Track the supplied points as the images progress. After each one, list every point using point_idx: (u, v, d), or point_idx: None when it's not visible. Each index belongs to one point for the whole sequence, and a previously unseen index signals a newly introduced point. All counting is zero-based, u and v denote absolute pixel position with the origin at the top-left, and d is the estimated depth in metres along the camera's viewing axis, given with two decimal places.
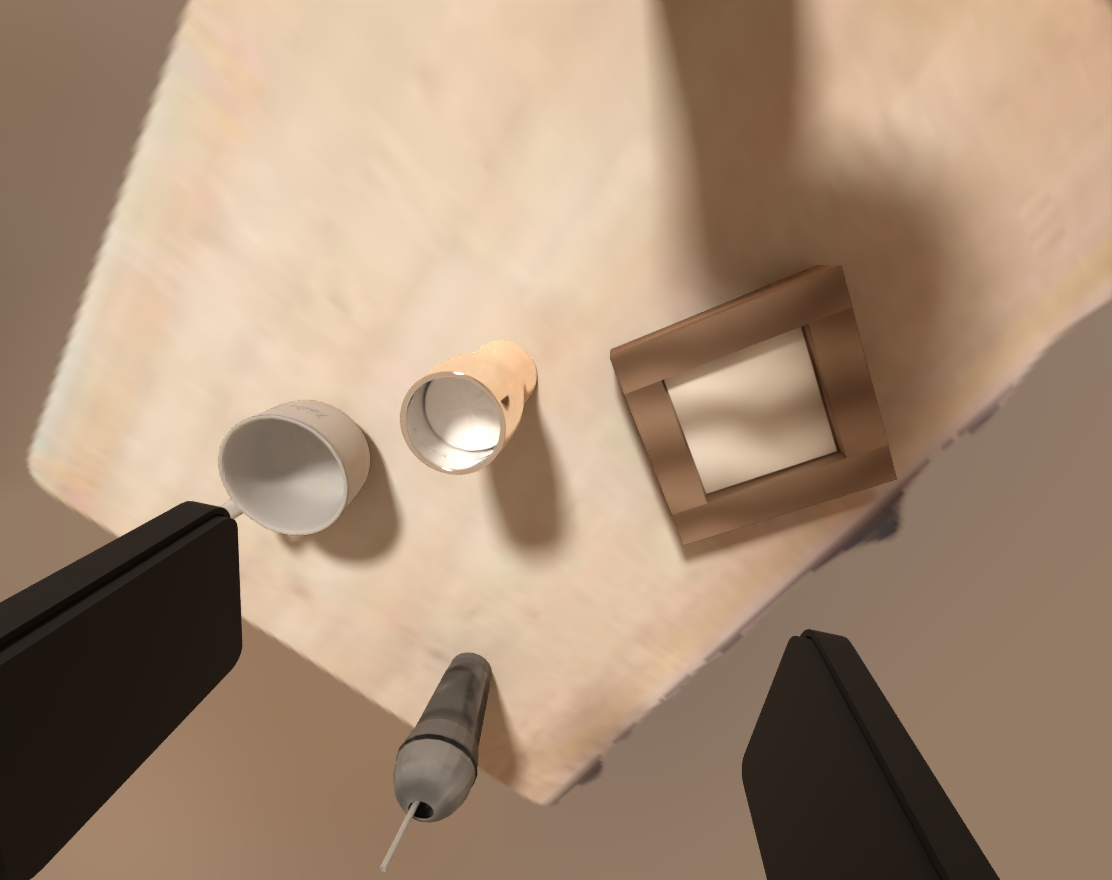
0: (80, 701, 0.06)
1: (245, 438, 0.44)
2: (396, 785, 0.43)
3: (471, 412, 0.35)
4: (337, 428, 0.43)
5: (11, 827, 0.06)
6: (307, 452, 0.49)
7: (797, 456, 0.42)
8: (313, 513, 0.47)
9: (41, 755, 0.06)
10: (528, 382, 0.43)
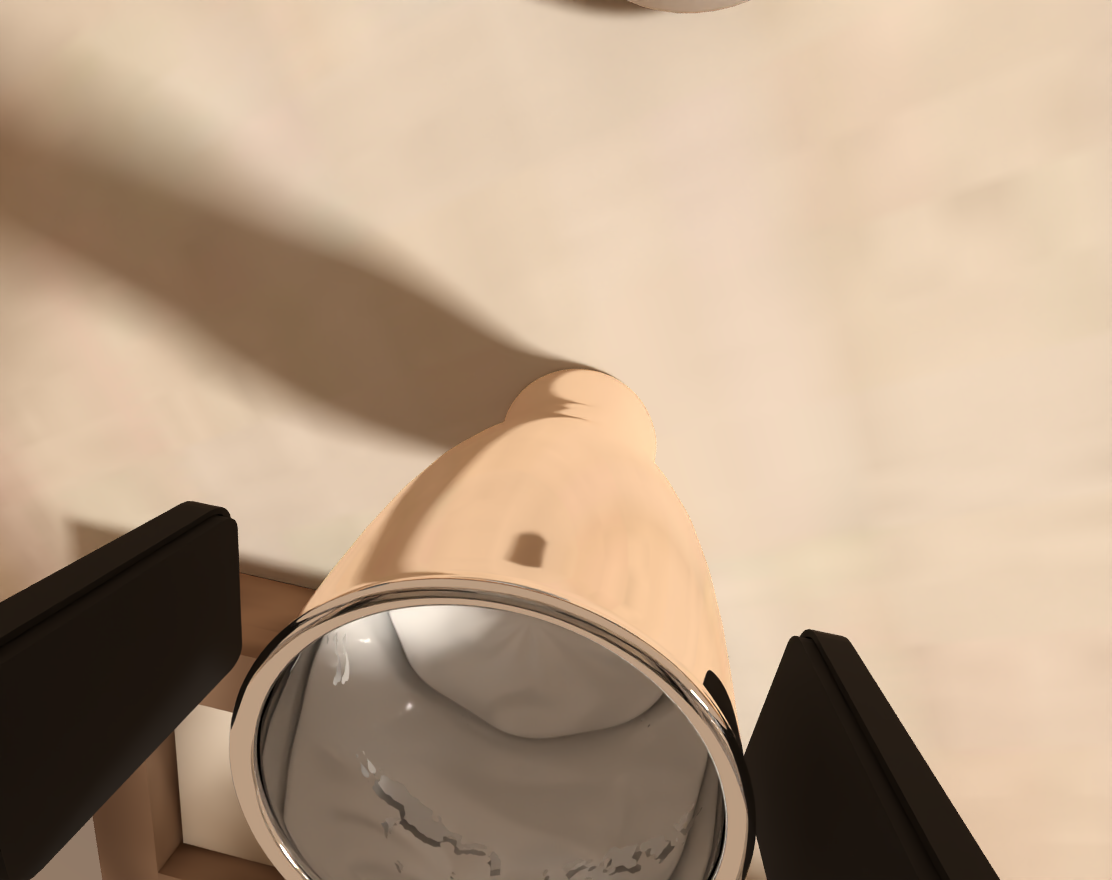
0: (80, 701, 0.06)
1: None
2: None
3: (512, 614, 0.10)
4: None
5: (11, 827, 0.06)
6: None
7: (191, 803, 0.25)
8: None
9: (41, 755, 0.06)
10: None
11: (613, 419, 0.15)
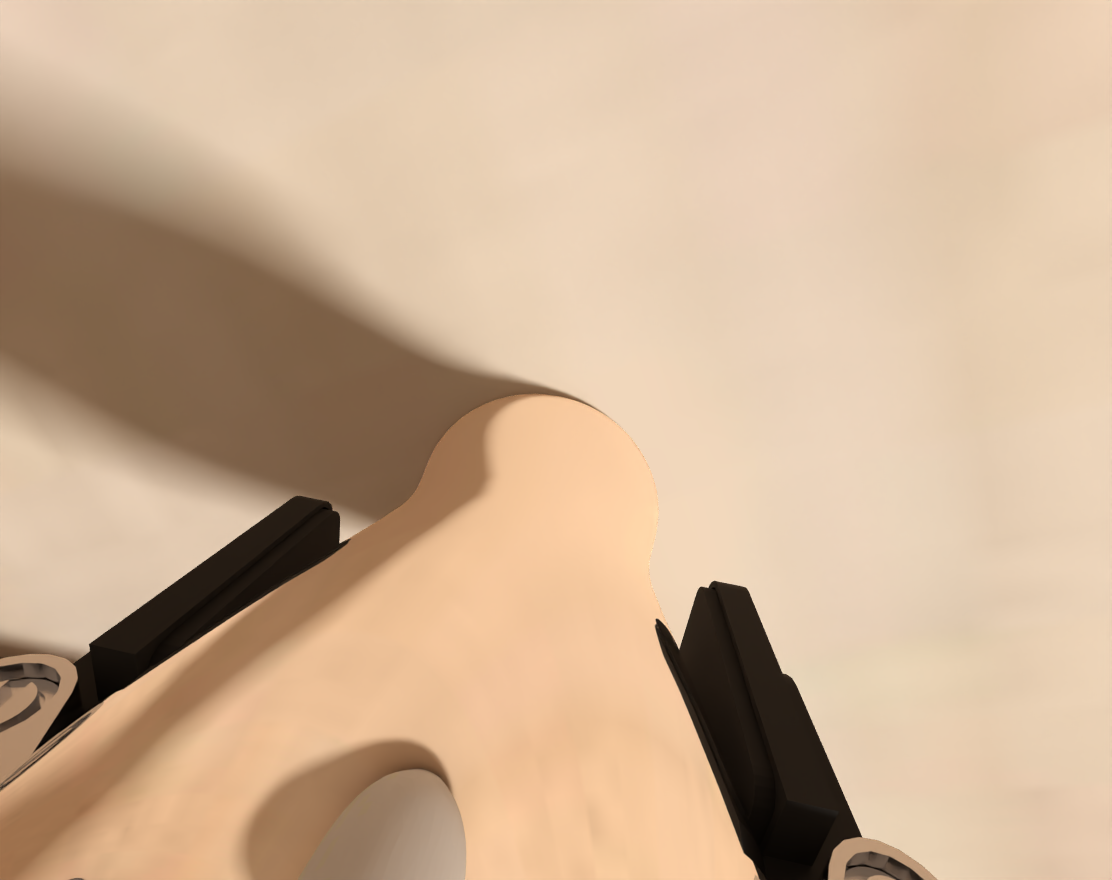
0: None
1: None
2: None
3: None
4: None
5: None
6: None
7: None
8: None
9: None
10: None
11: (583, 505, 0.08)
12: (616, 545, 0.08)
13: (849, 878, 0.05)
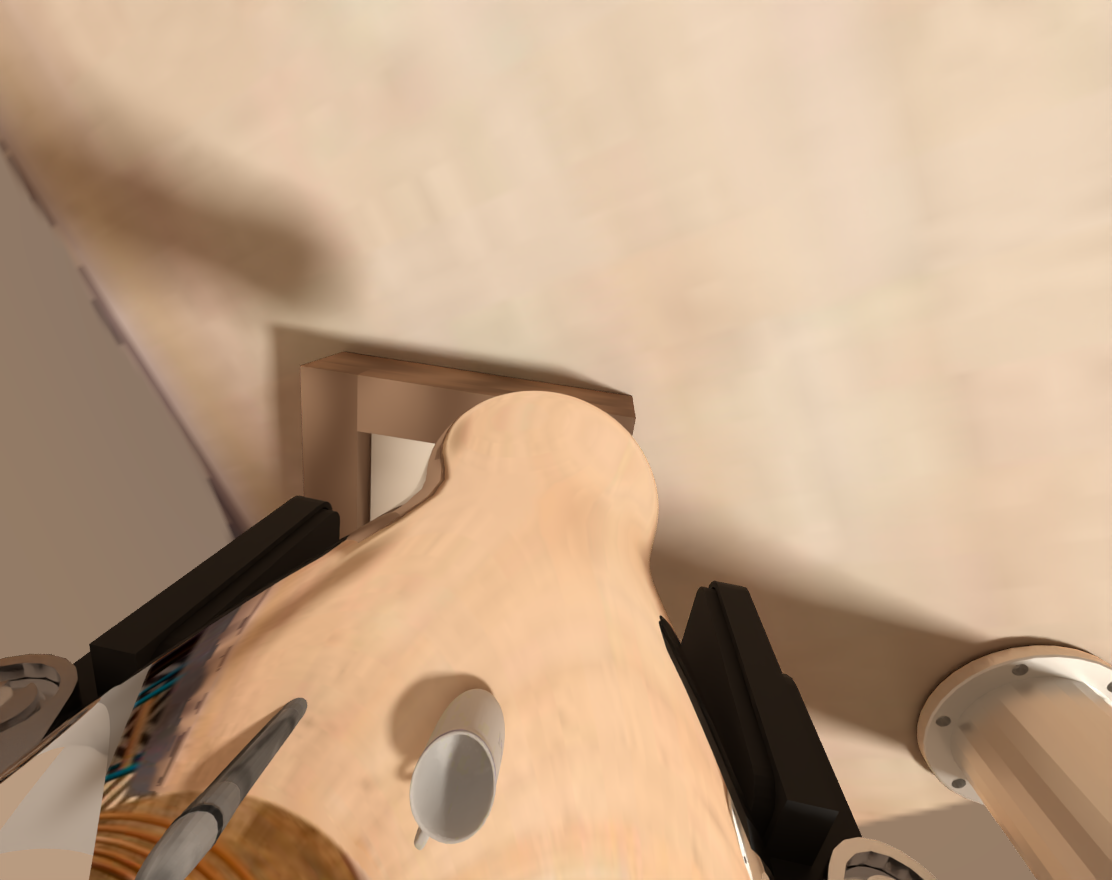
0: None
1: None
2: None
3: None
4: None
5: None
6: None
7: None
8: None
9: None
10: None
11: (585, 501, 0.08)
12: (617, 540, 0.08)
13: (848, 878, 0.05)
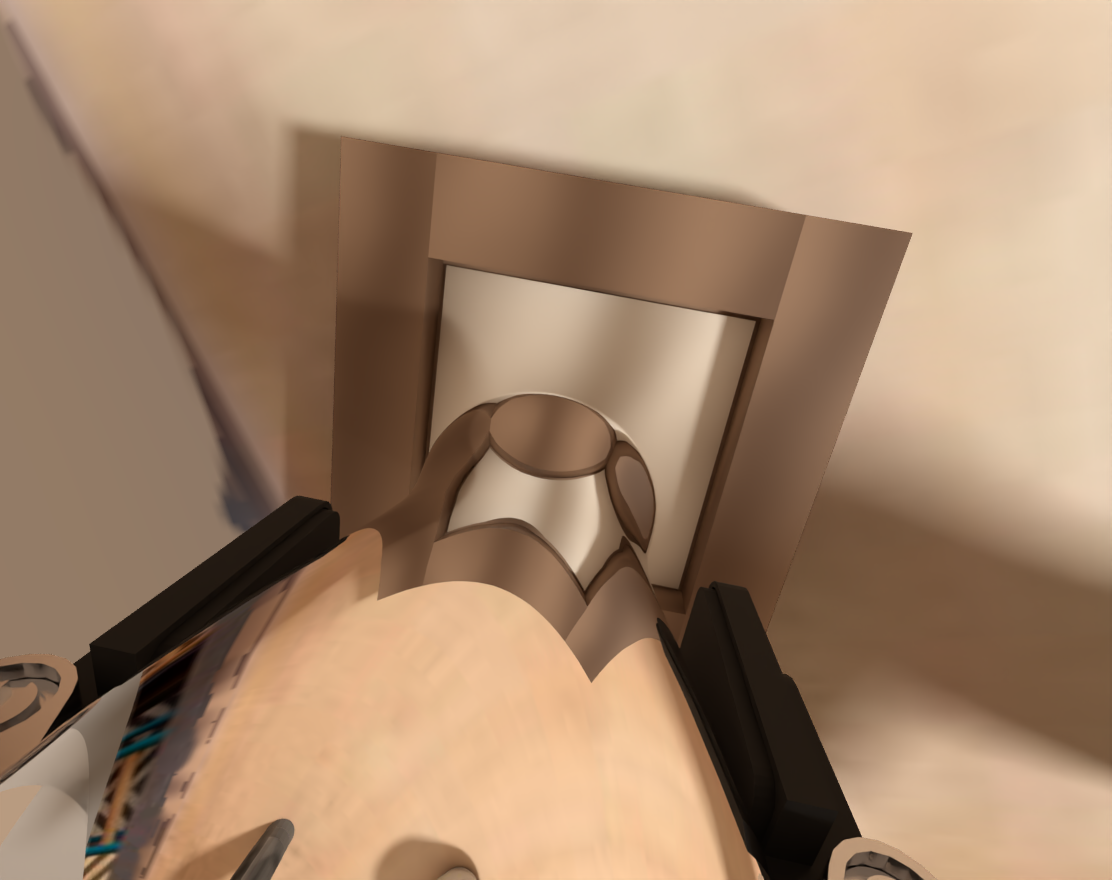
0: None
1: None
2: None
3: None
4: None
5: None
6: None
7: None
8: None
9: None
10: None
11: (582, 503, 0.08)
12: (615, 542, 0.08)
13: (849, 877, 0.05)
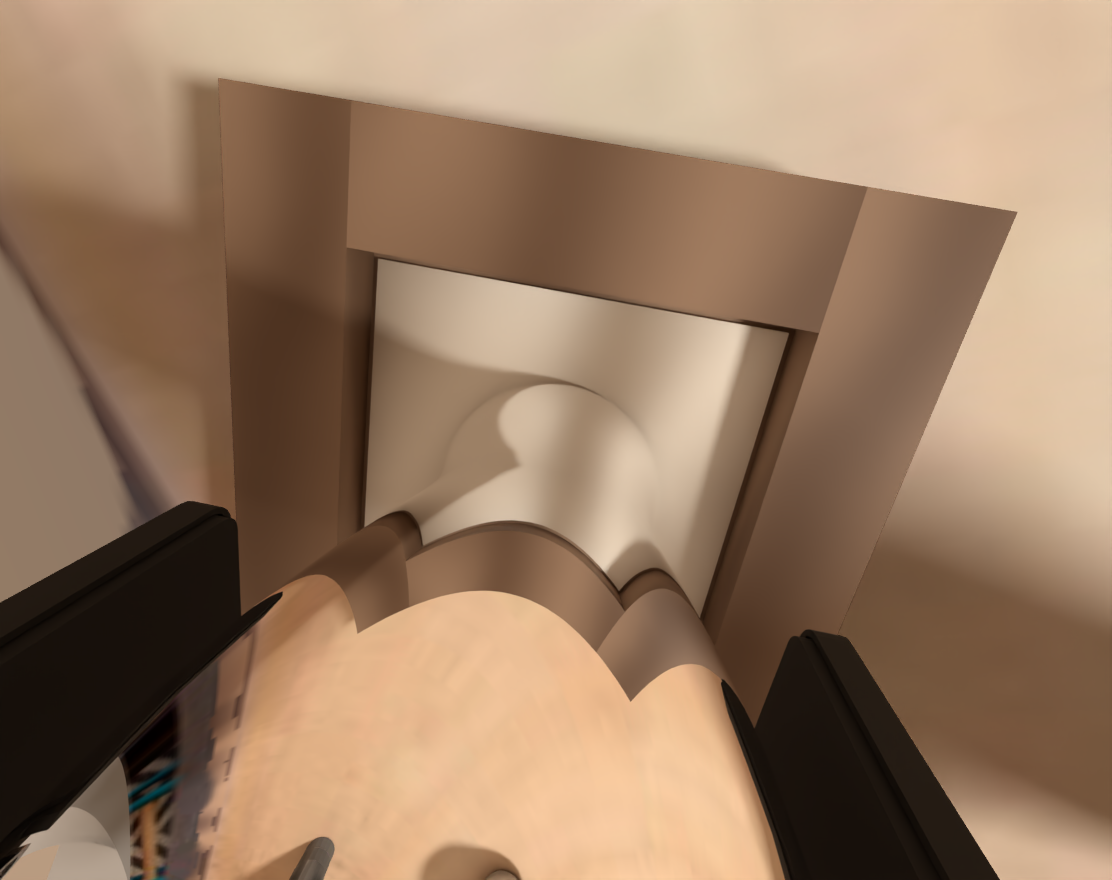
0: (80, 701, 0.06)
1: None
2: None
3: None
4: None
5: (11, 827, 0.06)
6: None
7: None
8: None
9: (41, 755, 0.06)
10: None
11: (599, 476, 0.10)
12: (628, 507, 0.09)
13: None
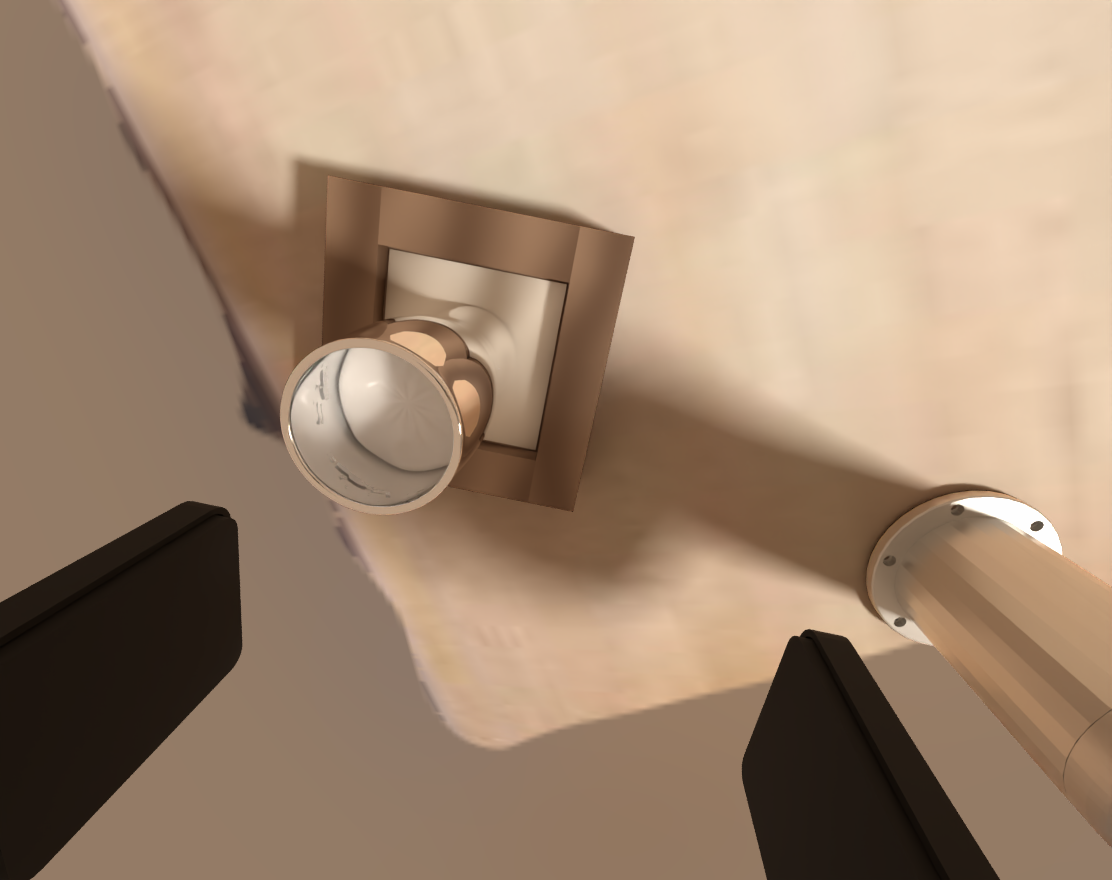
0: (80, 701, 0.06)
1: None
2: None
3: (399, 401, 0.22)
4: None
5: (11, 827, 0.06)
6: None
7: None
8: None
9: (41, 755, 0.06)
10: None
11: (472, 328, 0.27)
12: (479, 335, 0.26)
13: None
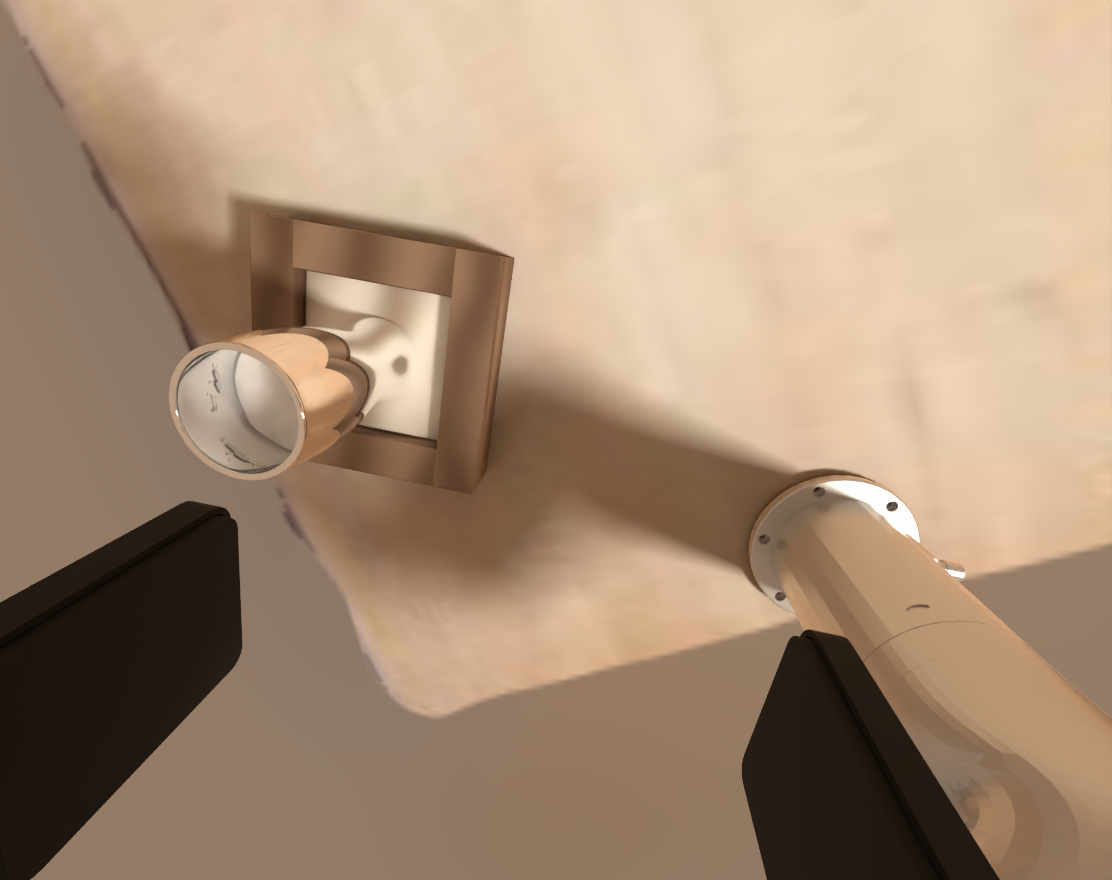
0: (80, 701, 0.06)
1: None
2: None
3: (280, 393, 0.27)
4: None
5: (11, 827, 0.06)
6: None
7: None
8: None
9: (41, 755, 0.06)
10: None
11: (362, 335, 0.32)
12: (365, 341, 0.32)
13: None
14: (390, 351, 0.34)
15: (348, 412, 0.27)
